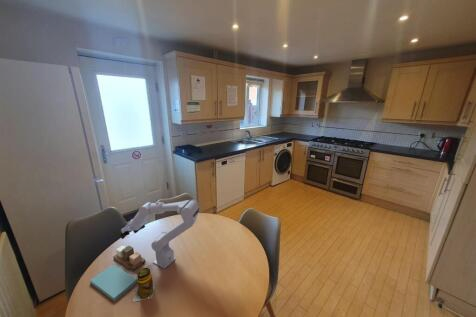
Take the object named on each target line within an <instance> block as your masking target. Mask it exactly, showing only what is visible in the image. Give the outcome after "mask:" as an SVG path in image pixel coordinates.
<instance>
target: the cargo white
mask: <svg viewBox="0 0 476 317" xmlns="http://www.w3.org/2000/svg"><path fill="white" fill-rule="evenodd" d="M126 247H127V246H125V245H123V244H122V245H121V246H119V247H118V248H116V249H115V251H116V254H117V256H119V257H121V258H122V257H123V254H122V250H123V249H124V248H126Z"/></svg>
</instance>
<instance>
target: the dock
mask: <svg viewBox="0 0 476 317" xmlns="http://www.w3.org/2000/svg"><path fill="white" fill-rule="evenodd" d="M89 284H90V285H92V286H93V287H95V289H97V290H99V291H100V292H101V293H103V295H105V296H106V297H108V298H109V299H110V300H112V301H113V302H115V303H116V302H117V301H118V300H119V299H120V298H121V297H122V296H123V295H125V294H126V293H127V292H129V290H130V289H132V288H133V287H134V286H135V285H136V284H138V283H137V277H134V276H133V275H131V274H129V273H128V272H126V271H124V270H123V269H121V268H120V267H118V266H116V265H115V264H111V265H110V266H109V267H106V268H105V269H104V270H102V271H101V272H99V273H98V274H97V275H95V276H94V277H92V278H91V279H90V280H89Z"/></svg>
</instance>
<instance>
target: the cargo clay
mask: <svg viewBox="0 0 476 317" xmlns="http://www.w3.org/2000/svg"><path fill="white" fill-rule="evenodd" d="M141 257H142V255H141V254H140V253H139V252H137V251H134V254H132V255H131V256H130V257H129V259H130V263H131V264H133V265H136V264H138V263H139V262H140V261H142V260H141Z"/></svg>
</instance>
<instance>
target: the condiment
mask: <svg viewBox="0 0 476 317" xmlns="http://www.w3.org/2000/svg"><path fill="white" fill-rule="evenodd" d="M136 276H137V277H136V279H137V283H136V284H137V287H136V290H135V293H134V295H133V299H132V303H134V302H140V301H145V300H149V299H153V298H154V293H155V291H156V285H157V284H156V283H154V284H153V275H152V273H151V269H150V268H149V267H142V268H141V269H139V270H138V272H137V275H136ZM148 297H149V298H148Z"/></svg>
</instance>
